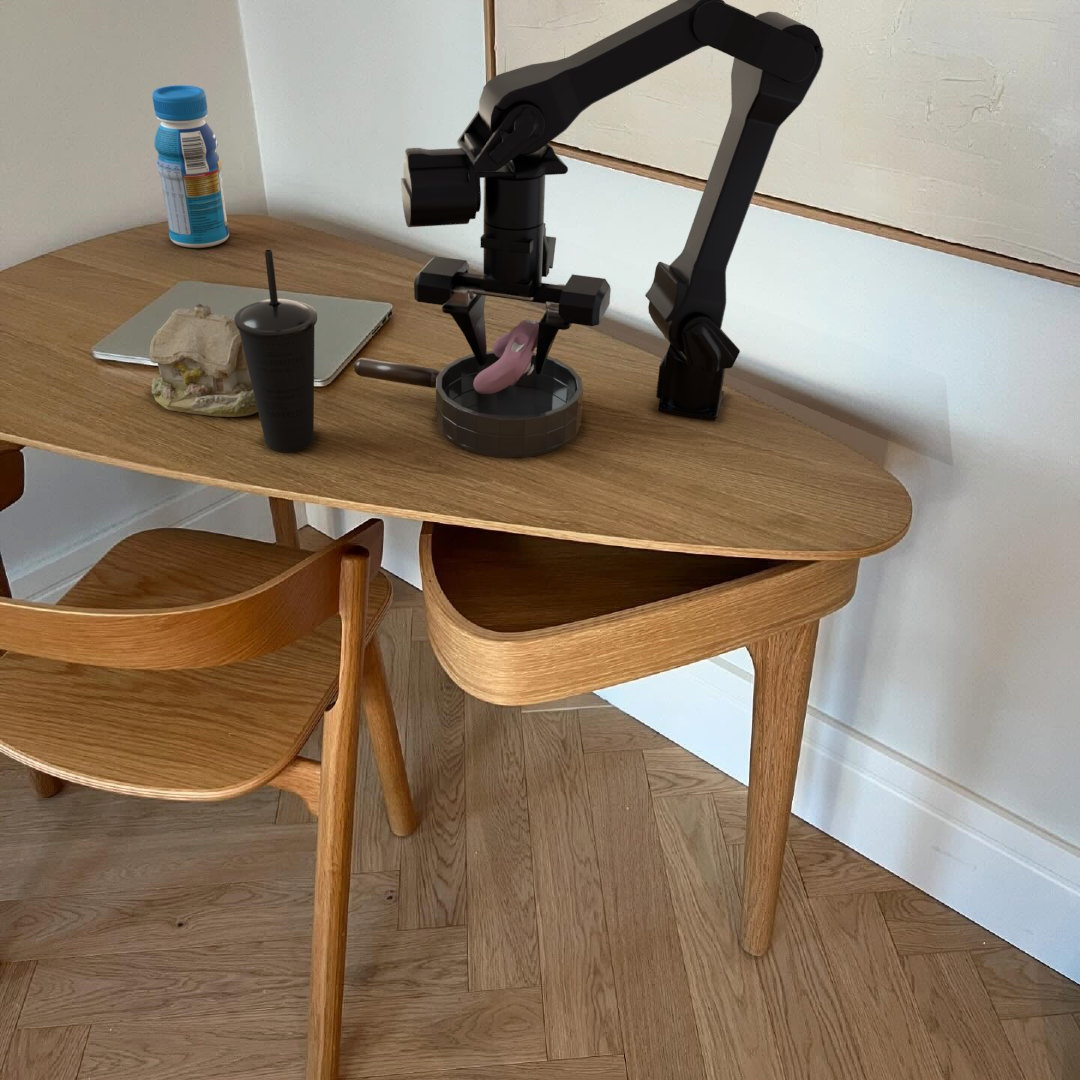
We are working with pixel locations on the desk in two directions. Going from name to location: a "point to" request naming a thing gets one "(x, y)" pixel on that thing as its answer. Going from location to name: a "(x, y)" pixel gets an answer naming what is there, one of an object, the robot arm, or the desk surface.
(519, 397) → the pan
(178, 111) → the beverage bottle
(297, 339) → the drinking cup
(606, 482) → the desk surface
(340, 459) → the desk surface
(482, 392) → the video game controller
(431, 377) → the pan handle
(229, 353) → the ceramic model
